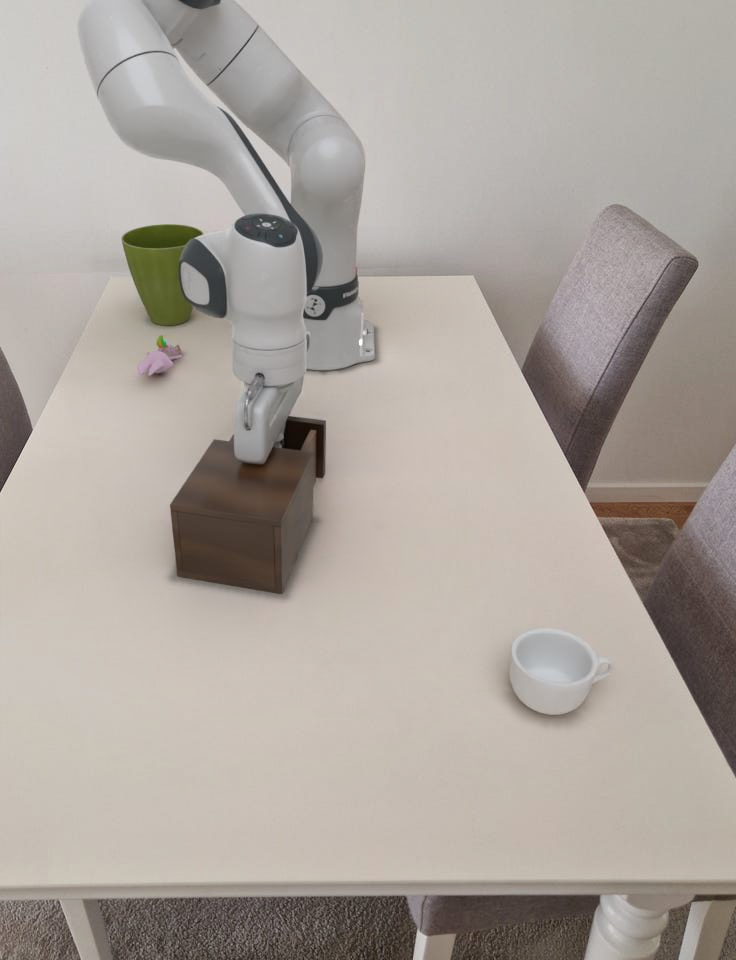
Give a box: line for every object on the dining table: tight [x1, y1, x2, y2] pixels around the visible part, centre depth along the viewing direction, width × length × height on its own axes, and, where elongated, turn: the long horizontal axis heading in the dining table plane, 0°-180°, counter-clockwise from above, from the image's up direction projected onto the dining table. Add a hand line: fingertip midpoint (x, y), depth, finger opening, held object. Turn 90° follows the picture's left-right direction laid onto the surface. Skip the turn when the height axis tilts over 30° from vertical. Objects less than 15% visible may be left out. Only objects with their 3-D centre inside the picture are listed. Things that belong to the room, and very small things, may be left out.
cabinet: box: [169, 438, 314, 595], centre depth 99 cm, size 15×13×10 cm
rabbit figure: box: [136, 334, 183, 377], centre depth 142 cm, size 6×6×15 cm
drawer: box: [228, 415, 327, 488], centre depth 109 cm, size 18×11×8 cm, turn 165°
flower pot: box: [120, 223, 205, 326], centre depth 158 cm, size 15×15×16 cm
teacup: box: [509, 627, 615, 716], centre depth 80 cm, size 10×8×5 cm
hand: (271, 456), depth 108 cm, fingers closed on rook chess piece, 3 cm apart
